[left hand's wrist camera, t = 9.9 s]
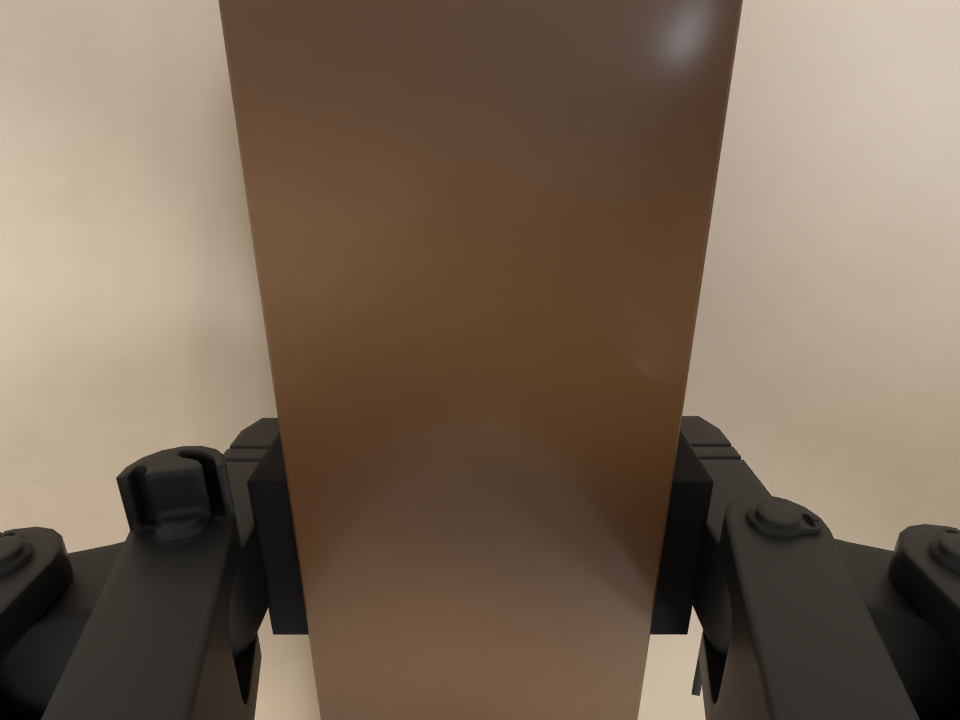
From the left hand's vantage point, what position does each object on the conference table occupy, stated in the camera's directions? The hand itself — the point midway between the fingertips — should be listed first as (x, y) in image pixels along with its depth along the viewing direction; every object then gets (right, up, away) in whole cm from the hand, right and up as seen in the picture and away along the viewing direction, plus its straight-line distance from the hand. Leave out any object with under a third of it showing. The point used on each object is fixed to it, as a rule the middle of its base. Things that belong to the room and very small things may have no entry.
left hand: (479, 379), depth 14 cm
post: (0, -31, +13) cm, 34 cm away
